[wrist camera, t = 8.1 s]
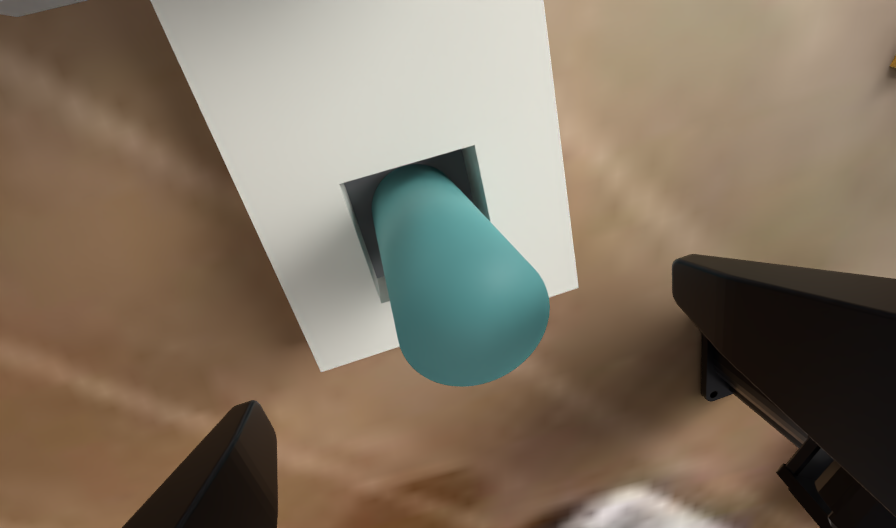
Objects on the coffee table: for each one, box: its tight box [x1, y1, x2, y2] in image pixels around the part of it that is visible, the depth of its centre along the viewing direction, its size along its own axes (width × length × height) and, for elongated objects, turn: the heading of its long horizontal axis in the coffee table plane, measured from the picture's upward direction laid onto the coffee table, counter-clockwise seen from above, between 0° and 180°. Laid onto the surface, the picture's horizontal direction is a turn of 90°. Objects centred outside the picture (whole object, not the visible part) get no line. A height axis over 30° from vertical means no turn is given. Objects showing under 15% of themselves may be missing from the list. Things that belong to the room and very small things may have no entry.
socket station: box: [0, 0, 578, 372], centre depth 12 cm, size 17×11×10 cm, turn 14°
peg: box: [372, 164, 550, 386], centre depth 14 cm, size 4×4×9 cm
